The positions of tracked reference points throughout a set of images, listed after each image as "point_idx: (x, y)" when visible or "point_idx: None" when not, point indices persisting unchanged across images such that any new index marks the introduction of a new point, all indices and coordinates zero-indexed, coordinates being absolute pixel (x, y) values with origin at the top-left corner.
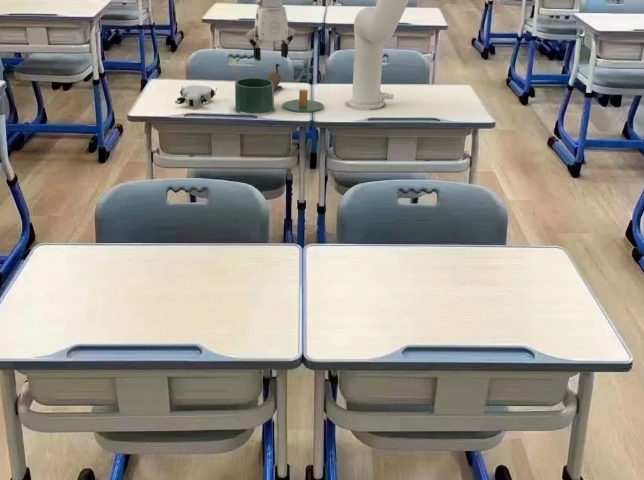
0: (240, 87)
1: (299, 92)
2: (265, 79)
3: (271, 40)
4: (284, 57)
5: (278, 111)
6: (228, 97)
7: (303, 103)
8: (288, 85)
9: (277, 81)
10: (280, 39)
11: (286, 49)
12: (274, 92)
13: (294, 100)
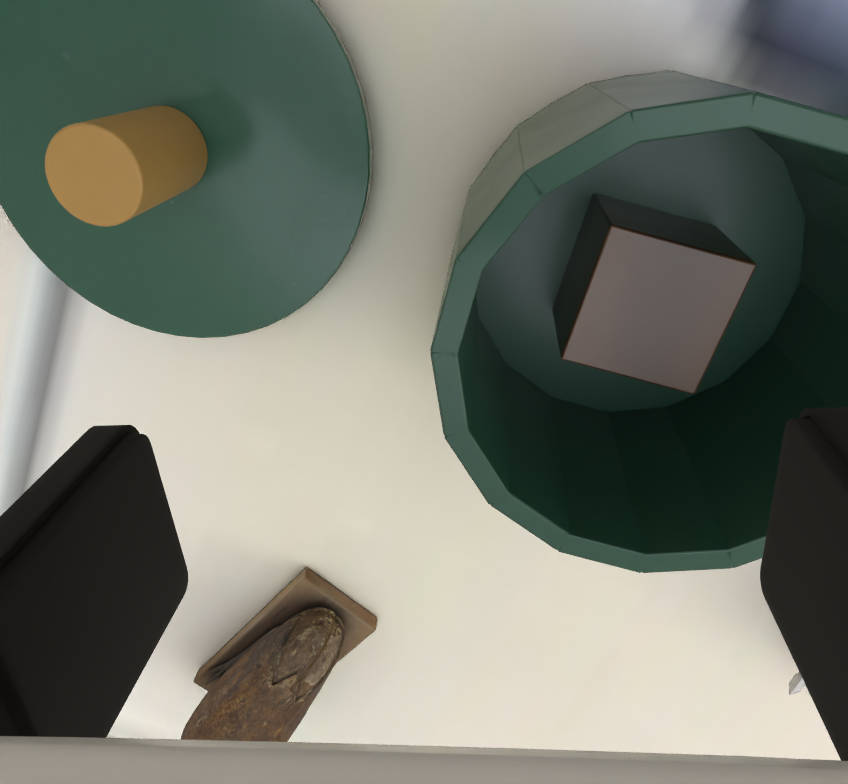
0: None
1: (152, 179)
2: (480, 459)
3: (588, 770)
4: (150, 475)
5: (440, 138)
6: (650, 630)
7: (163, 111)
8: (138, 708)
9: (229, 681)
10: (12, 758)
11: (8, 532)
12: (293, 586)
13: (208, 320)
